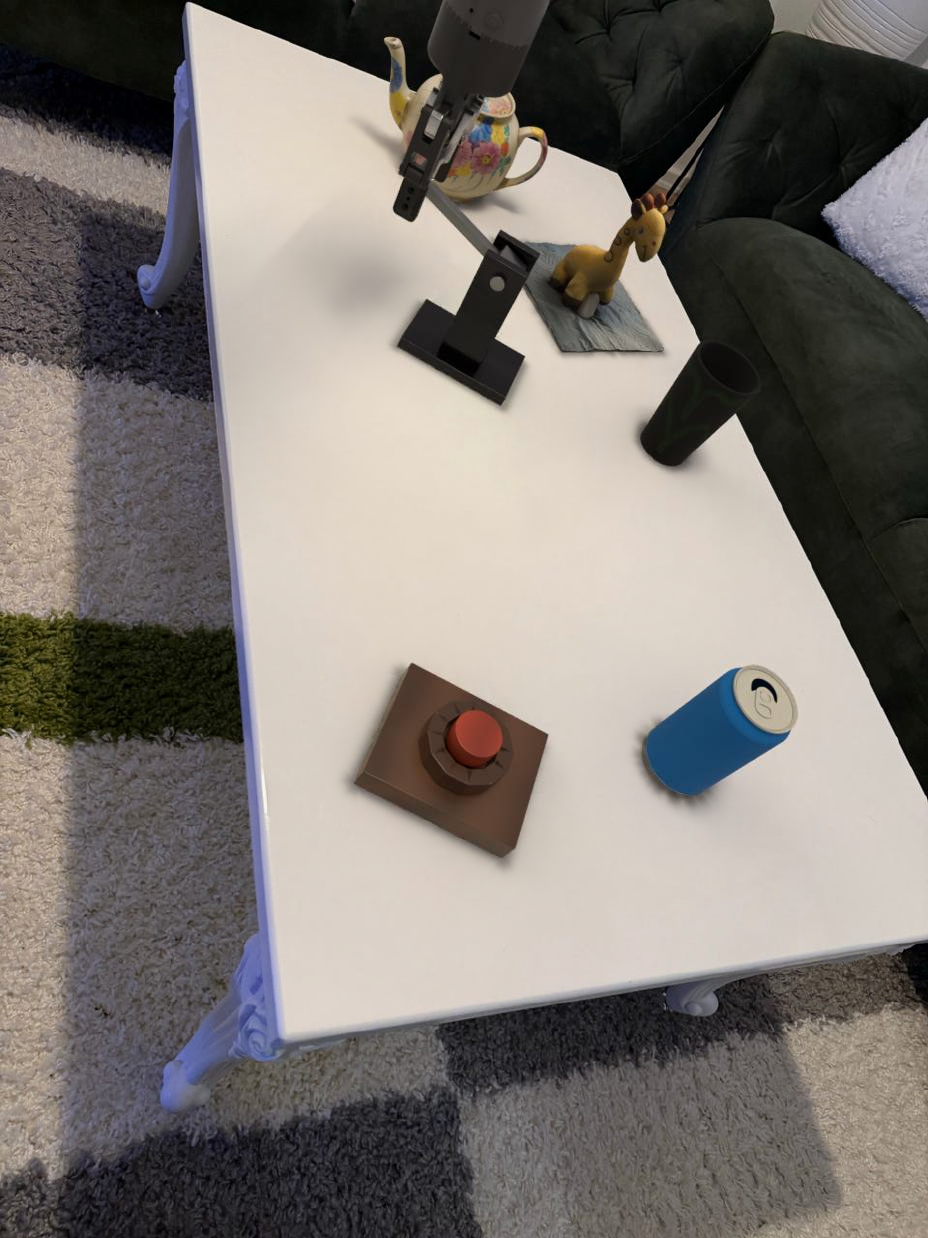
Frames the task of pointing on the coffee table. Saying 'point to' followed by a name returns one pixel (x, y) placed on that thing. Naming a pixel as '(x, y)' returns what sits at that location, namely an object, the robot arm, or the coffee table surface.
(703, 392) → the cup
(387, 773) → the button block
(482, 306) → the bracket
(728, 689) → the beverage can
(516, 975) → the coffee table surface
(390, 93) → the teapot
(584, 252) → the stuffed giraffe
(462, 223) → the lever
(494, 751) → the button
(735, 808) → the coffee table surface
